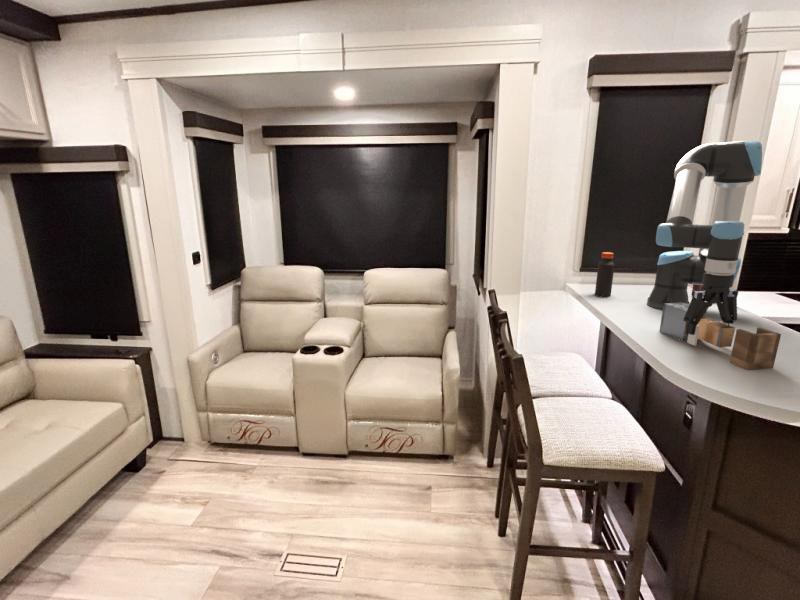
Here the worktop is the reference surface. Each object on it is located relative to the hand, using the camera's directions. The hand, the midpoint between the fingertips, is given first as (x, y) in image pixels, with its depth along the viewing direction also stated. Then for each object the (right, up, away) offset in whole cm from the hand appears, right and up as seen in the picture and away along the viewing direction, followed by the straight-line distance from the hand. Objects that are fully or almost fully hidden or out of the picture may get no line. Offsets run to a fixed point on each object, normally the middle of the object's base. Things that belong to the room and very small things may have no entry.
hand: (705, 342), depth 131 cm
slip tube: (-1, +2, +3) cm, 4 cm away
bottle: (-1, +15, +64) cm, 66 cm away
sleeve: (-2, +1, +10) cm, 10 cm away
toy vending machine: (+41, +14, +58) cm, 73 cm away
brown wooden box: (+2, -5, -14) cm, 15 cm away
